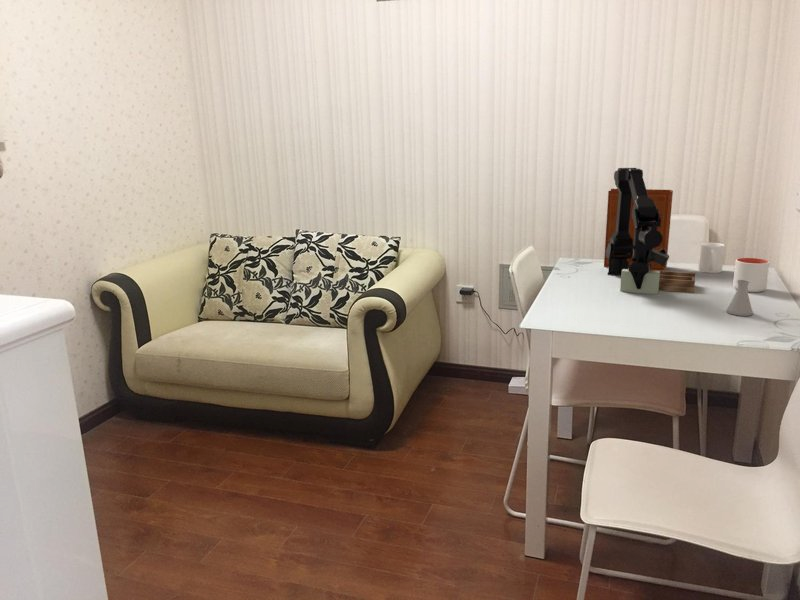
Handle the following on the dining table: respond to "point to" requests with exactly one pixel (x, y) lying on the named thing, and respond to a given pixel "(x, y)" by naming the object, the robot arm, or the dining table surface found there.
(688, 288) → the box
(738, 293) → the flask
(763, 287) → the cup
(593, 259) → the dining table surface
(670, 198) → the book
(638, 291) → the pale green box
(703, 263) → the mug
